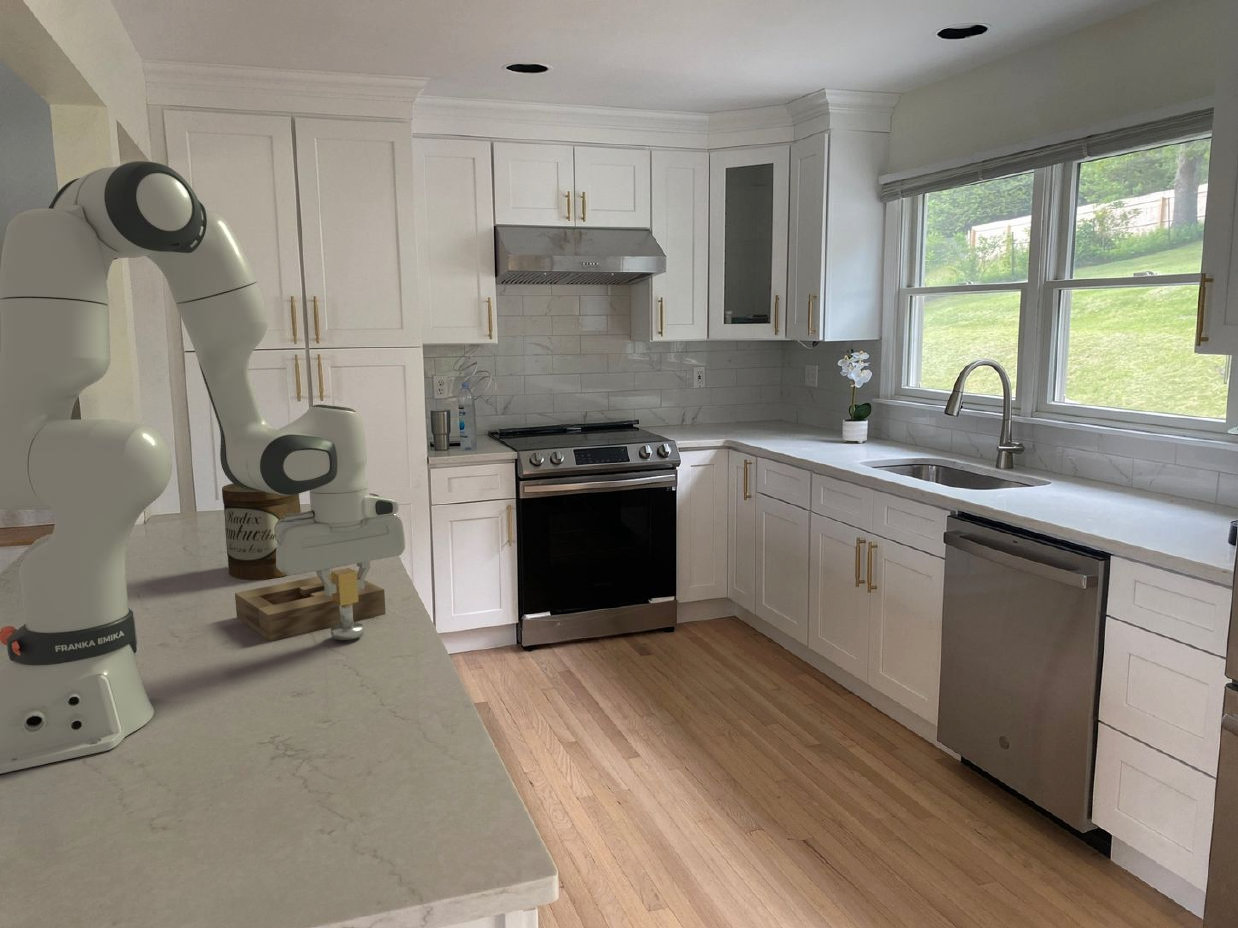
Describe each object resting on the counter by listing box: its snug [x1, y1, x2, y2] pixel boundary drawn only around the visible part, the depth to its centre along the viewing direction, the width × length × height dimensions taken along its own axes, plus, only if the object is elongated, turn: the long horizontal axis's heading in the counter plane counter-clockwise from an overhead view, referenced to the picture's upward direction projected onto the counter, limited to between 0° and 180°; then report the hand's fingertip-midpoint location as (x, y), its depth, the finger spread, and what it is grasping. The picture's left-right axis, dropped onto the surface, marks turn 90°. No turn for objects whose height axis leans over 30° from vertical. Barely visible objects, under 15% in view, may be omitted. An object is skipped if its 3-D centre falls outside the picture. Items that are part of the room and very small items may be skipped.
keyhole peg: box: [330, 567, 364, 641], centre depth 141 cm, size 5×5×10 cm
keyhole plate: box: [234, 573, 387, 642], centre depth 153 cm, size 20×16×4 cm
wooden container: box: [221, 482, 302, 581], centre depth 181 cm, size 15×15×22 cm
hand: (344, 591), depth 141 cm, fingers closed on keyhole peg, 3 cm apart
